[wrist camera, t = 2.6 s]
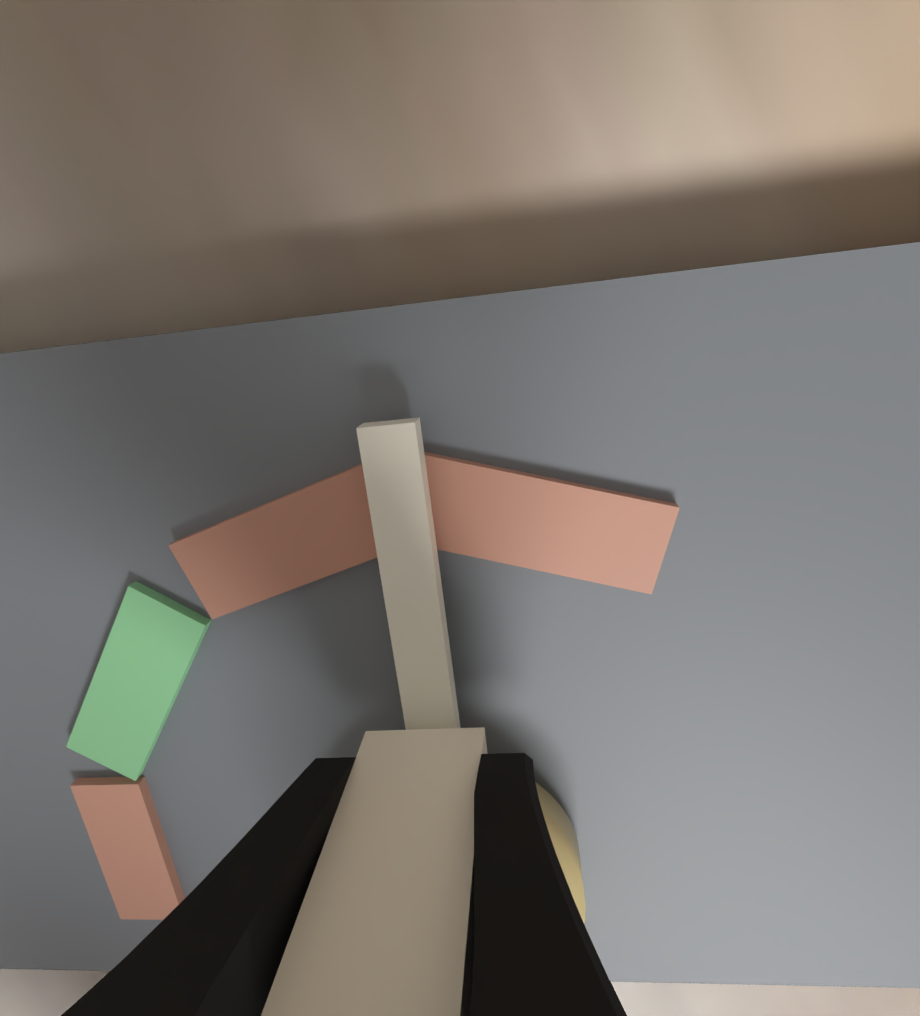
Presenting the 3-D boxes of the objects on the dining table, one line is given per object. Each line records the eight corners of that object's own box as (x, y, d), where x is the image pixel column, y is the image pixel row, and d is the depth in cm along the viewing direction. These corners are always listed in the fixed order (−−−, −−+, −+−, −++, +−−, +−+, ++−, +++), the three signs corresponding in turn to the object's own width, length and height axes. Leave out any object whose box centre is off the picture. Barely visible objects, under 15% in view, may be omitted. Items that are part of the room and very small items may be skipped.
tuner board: (1085, 927, 12) (1157, 1005, 10) (-2, 917, 15) (-54, 977, 13) (1286, 200, 8) (1442, 177, 7) (-247, 385, 11) (-354, 395, 10)
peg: (588, 991, 12) (636, 1456, 7) (370, 987, 12) (275, 1415, 7) (550, 402, 8) (592, 525, 3) (247, 431, 9) (-72, 571, 4)
